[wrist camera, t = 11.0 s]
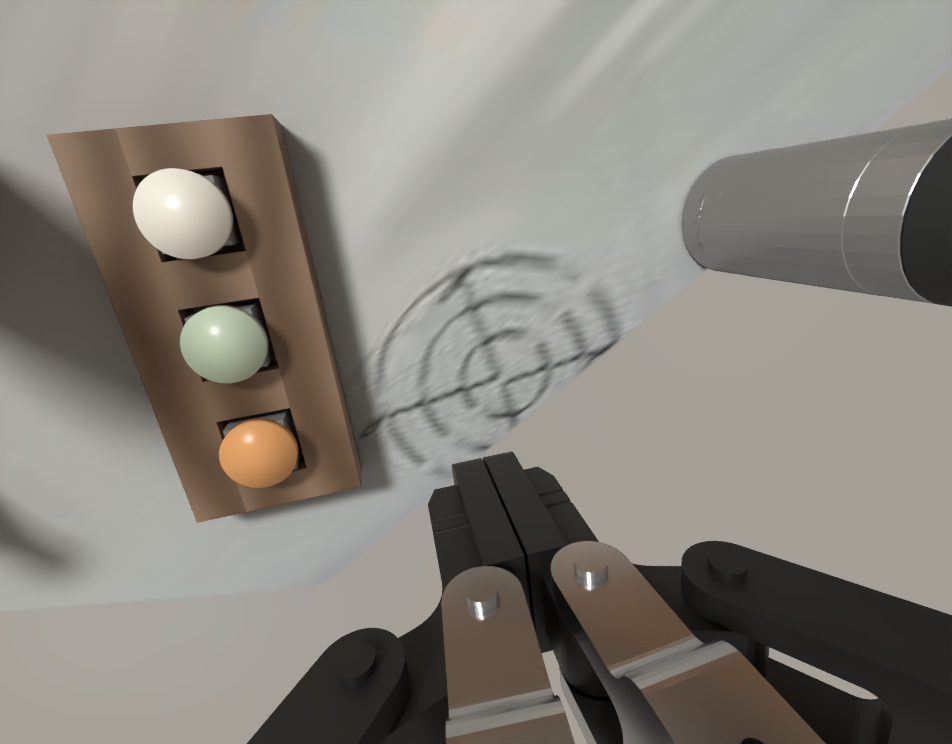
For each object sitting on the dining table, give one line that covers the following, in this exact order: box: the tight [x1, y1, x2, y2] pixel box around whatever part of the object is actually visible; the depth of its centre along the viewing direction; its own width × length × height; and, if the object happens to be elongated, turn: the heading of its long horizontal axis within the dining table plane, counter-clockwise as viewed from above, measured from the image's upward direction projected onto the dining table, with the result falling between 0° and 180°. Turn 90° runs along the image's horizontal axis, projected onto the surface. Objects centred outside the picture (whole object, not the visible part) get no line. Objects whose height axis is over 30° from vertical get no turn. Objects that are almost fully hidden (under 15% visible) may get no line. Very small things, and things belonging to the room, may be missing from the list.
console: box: [47, 114, 361, 523], centre depth 33 cm, size 12×26×3 cm, turn 8°
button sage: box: [180, 301, 275, 383], centre depth 32 cm, size 5×5×4 cm
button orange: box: [219, 408, 302, 488], centre depth 34 cm, size 5×5×4 cm
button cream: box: [133, 168, 244, 259], centre depth 29 cm, size 5×5×4 cm
